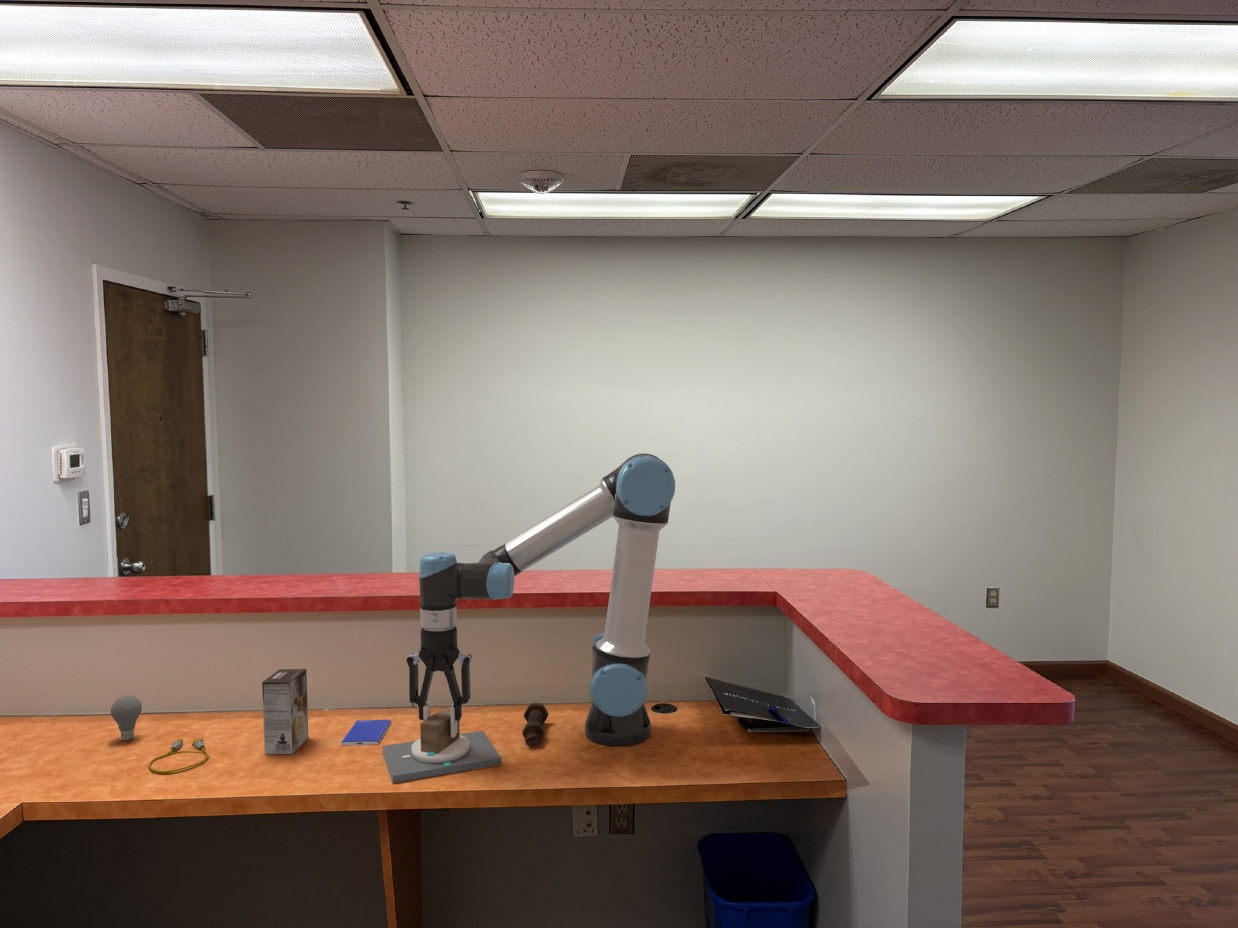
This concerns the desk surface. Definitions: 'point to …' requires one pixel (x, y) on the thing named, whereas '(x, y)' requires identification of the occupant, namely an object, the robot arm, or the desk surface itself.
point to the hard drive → (366, 732)
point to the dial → (439, 740)
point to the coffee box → (285, 711)
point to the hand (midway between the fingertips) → (440, 734)
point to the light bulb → (126, 715)
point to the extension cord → (177, 745)
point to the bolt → (534, 723)
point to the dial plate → (411, 769)
